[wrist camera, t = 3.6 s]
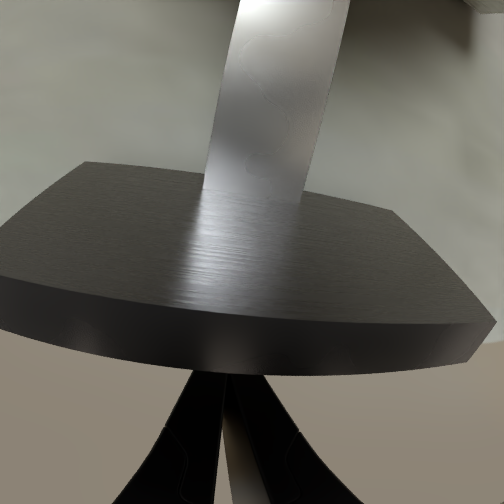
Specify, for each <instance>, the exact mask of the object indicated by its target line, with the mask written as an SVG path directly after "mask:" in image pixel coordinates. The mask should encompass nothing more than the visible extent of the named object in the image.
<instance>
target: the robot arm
mask: <svg viewBox="0 0 504 504" xmlns="http://www.w3.org/2000/svg"><path fill="white" fill-rule="evenodd" d="M222 430H223V438H224V445H225V453H226V460H227V467H228V474H229V481H230V488H231V494H232V500H233V504H364V503H363V502H361V501H360V500H359V499H358V498H357V497H356V496H355V495H354V494H353V493H352V492H351V491H350V490H349V489H348V488H347V487H346V486H345V485H344V484H343V483H342V482H341V481H340V480H339V479H338V478H337V477H336V476H335V474H334V473H333V472H332V471H331V470H330V469H329V468H328V467H327V466H326V464H325V463H324V462H323V461H322V460H321V459H320V458H319V456H318V455H317V454H316V453H315V451H314V450H313V449H312V447H311V446H310V445H309V443H308V442H307V440H306V439H305V437H304V436H303V434H302V433H301V432H299V429H298V427H297V426H296V424H295V423H294V421H293V420H292V418H291V417H290V415H289V414H288V412H287V411H286V410H285V408H284V407H283V405H282V403H281V402H280V400H279V399H278V397H277V396H276V394H275V393H274V391H273V389H272V388H271V386H270V385H269V383H268V382H267V380H266V378H265V377H264V375H252V374H235V373H221V372H209V371H199V370H193V372H192V373H191V376H190V377H189V379H188V381H187V383H186V385H185V387H184V389H183V391H182V393H181V395H180V397H179V399H178V401H177V403H176V405H175V406H174V408H173V410H172V412H171V415H170V416H169V418H168V420H167V422H166V424H165V427H164V428H163V429H162V431H161V433H160V435H159V437H158V439H157V441H156V442H155V444H154V446H153V448H152V450H151V451H150V453H149V454H148V456H147V457H146V459H145V460H144V462H143V463H142V465H141V466H140V468H139V469H138V470H137V472H136V473H135V474H134V476H133V477H132V479H131V480H130V481H129V482H128V484H127V485H126V486H125V488H124V489H123V490H122V492H121V493H120V494H119V495H118V497H117V498H116V499H115V501H114V502H113V503H112V504H214V494H215V486H216V476H217V466H218V458H219V449H220V440H221V432H222ZM501 504H504V502H503V503H501Z"/></svg>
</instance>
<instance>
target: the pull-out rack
mask: <svg viewBox="0 0 504 504" xmlns="http://www.w3.org/2000/svg"><path fill="white" fill-rule="evenodd" d="M463 1H464V2H466V3H467V4H468V5H470V6H471V7H472V8H473V9H475V10H476V11H477V12H478V13H480V14H492V13H504V0H463ZM349 4H350V0H241V1H240V5H239V9H238V13H237V17H236V21H235V25H234V29H233V33H232V38H231V42H230V46H229V51H228V55H227V60H226V64H225V69H224V73H223V78H222V83H221V88H220V93H219V98H218V103H217V108H216V113H215V119H214V124H213V129H212V135H211V141H210V146H209V152H208V158H207V164H206V170H205V174H201V173H193V172H186V171H178V170H170V169H161V168H152V167H143V166H133V165H122V164H111V163H98V162H84V163H82V164H81V165H79V166H78V167H76V168H75V169H73V170H72V171H71V172H69V173H68V174H66V175H65V176H63V177H62V178H61V179H59V180H58V181H57V182H55V183H54V184H52V185H51V186H50V187H48V188H47V189H46V190H44V191H43V192H42V193H41V194H39V195H38V196H37V197H35V198H34V199H33V200H32V201H30V202H29V203H28V204H27V205H25V206H24V207H23V208H22V209H21V210H19V211H18V212H17V213H16V214H15V215H14V216H12V217H11V218H10V219H9V220H8V221H7V222H6V223H4V224H3V225H2V226H1V227H0V329H2V330H5V331H8V332H12V333H14V334H18V335H21V336H24V337H27V338H31V339H34V340H38V341H41V342H45V343H49V344H53V345H56V346H61V347H65V348H68V349H73V350H77V351H81V352H86V353H90V354H95V355H100V356H105V357H110V358H115V359H121V360H127V361H132V362H138V363H144V364H151V365H158V366H165V367H173V368H181V369H190V370H199V371H209V372H221V373H235V374H252V375H281V376H326V375H327V376H328V375H353V374H372V373H385V372H396V371H406V370H415V369H423V368H430V367H438V366H445V365H452V364H458V363H463V362H467V361H468V360H469V359H470V358H471V356H472V355H473V354H474V352H475V351H476V350H477V349H478V347H479V346H480V345H481V343H482V342H483V341H484V339H485V338H486V337H487V335H488V334H489V332H490V331H491V330H492V328H493V327H494V325H495V324H496V322H497V321H496V320H495V319H494V318H493V316H492V315H491V314H490V313H489V311H488V310H487V309H486V308H485V306H484V305H483V304H482V303H481V302H480V300H479V299H478V298H477V297H476V296H475V295H474V293H473V292H472V291H471V290H470V289H469V288H468V287H467V285H466V284H465V283H464V282H463V281H462V280H461V279H460V278H459V277H458V275H457V274H456V273H455V272H454V271H453V270H452V269H451V268H450V267H449V266H448V265H447V264H446V263H445V262H444V260H443V259H442V258H441V257H440V256H439V255H438V254H437V253H436V252H435V251H434V250H433V249H432V248H431V247H430V246H429V245H428V244H427V243H426V242H425V241H424V240H423V239H422V238H421V237H420V236H419V235H418V234H417V233H416V232H415V231H414V230H412V229H411V228H410V227H409V226H408V225H407V224H406V223H405V222H404V221H403V220H402V219H401V218H400V217H399V216H398V215H396V214H395V213H394V212H393V211H391V210H387V209H383V208H379V207H375V206H371V205H367V204H363V203H358V202H354V201H350V200H345V199H341V198H336V197H331V196H327V195H322V194H317V193H312V192H307V191H303V189H304V185H305V181H306V178H307V174H308V170H309V167H310V163H311V159H312V156H313V152H314V148H315V144H316V141H317V137H318V133H319V129H320V125H321V122H322V118H323V114H324V110H325V106H326V102H327V98H328V94H329V90H330V86H331V82H332V78H333V74H334V70H335V65H336V61H337V57H338V53H339V48H340V44H341V40H342V35H343V31H344V27H345V22H346V18H347V13H348V8H349Z"/></svg>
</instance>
